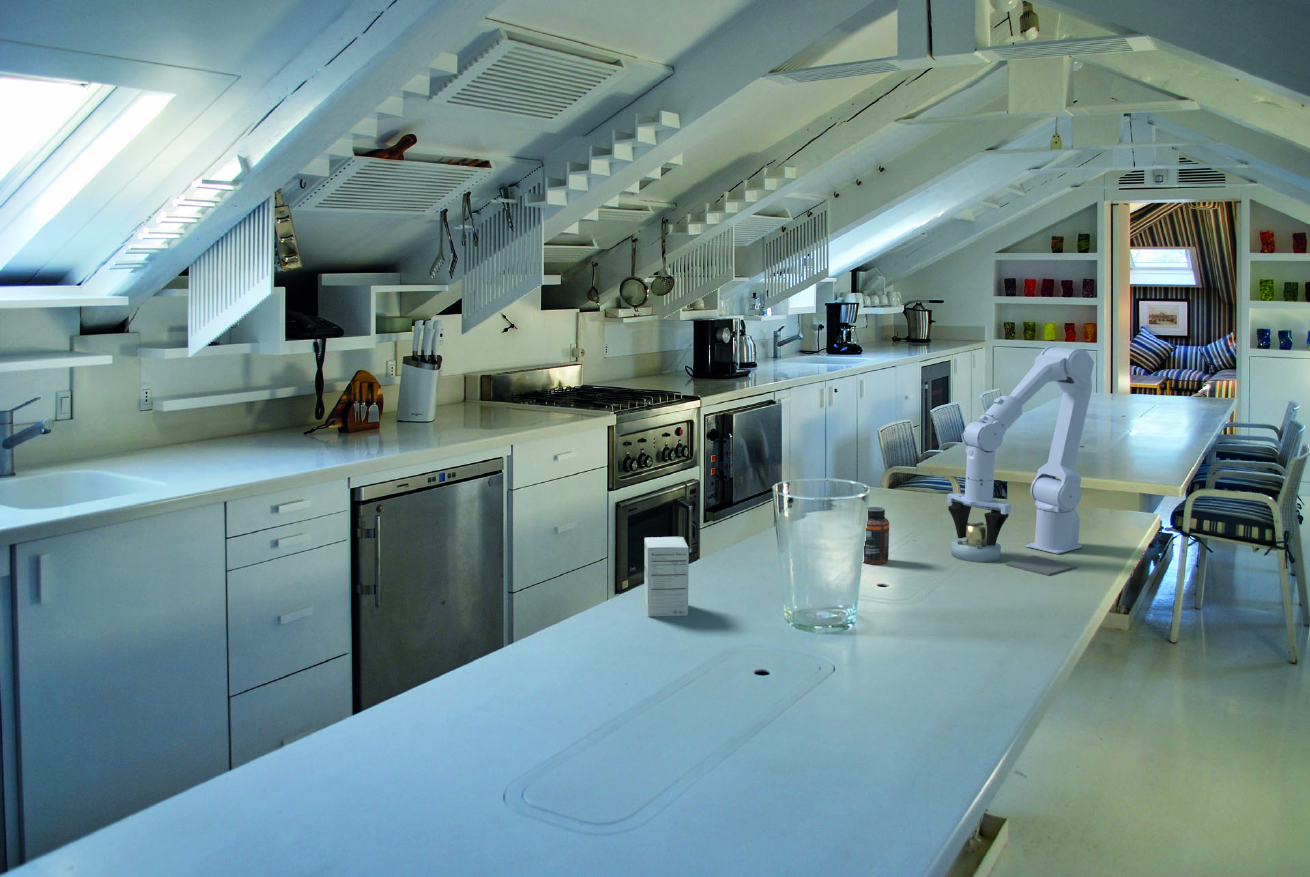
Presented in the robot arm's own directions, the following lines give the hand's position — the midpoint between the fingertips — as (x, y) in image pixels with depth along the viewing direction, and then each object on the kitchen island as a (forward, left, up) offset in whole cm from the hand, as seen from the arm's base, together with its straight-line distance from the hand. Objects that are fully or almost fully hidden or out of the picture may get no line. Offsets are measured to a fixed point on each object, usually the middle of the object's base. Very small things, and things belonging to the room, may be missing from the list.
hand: (976, 541), depth 226 cm
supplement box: (+76, -10, -3) cm, 77 cm away
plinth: (0, 0, -3) cm, 3 cm away
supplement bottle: (+21, -10, -3) cm, 24 cm away
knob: (0, 0, -1) cm, 1 cm away
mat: (-4, +13, -3) cm, 14 cm away
